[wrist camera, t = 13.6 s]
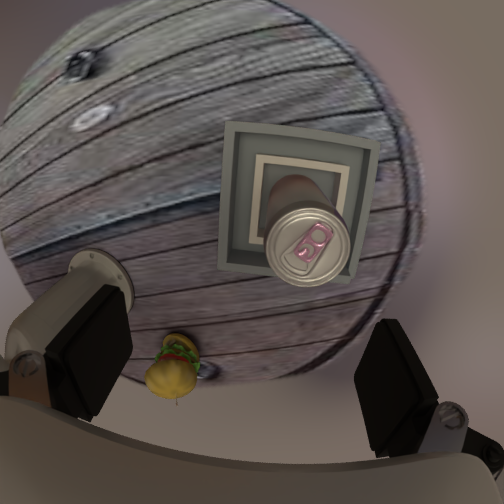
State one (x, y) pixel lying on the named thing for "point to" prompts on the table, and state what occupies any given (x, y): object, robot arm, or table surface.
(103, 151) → the table surface
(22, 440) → the robot arm
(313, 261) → the beverage can
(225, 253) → the box
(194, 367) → the hamburger
